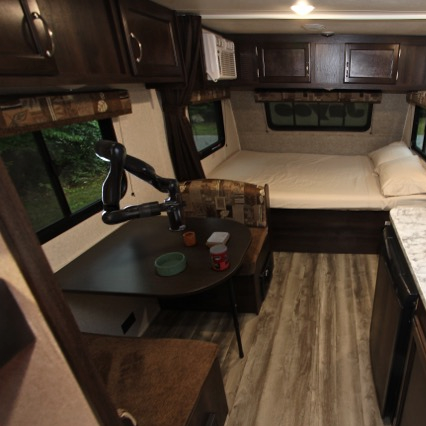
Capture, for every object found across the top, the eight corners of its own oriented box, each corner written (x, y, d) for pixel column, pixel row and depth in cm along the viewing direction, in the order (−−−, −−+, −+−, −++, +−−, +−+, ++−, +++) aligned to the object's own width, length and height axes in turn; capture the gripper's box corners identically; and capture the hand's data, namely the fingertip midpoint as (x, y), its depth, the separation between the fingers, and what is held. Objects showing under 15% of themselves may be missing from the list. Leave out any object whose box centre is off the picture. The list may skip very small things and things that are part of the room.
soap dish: (223, 250, 164) (222, 242, 161) (206, 249, 164) (204, 241, 162) (230, 239, 175) (229, 231, 173) (214, 238, 175) (213, 231, 173)
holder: (184, 242, 170) (182, 233, 167) (195, 240, 173) (193, 230, 170) (186, 247, 165) (184, 237, 163) (197, 244, 168) (195, 235, 165)
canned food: (210, 266, 150) (207, 248, 145) (224, 260, 155) (221, 242, 150) (217, 273, 145) (214, 254, 140) (231, 266, 150) (229, 248, 145)
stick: (181, 223, 161) (175, 193, 153) (185, 223, 162) (179, 192, 154) (182, 225, 159) (175, 194, 151) (186, 224, 160) (180, 194, 152)
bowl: (156, 264, 150) (153, 256, 148) (184, 257, 156) (182, 249, 154) (157, 279, 140) (155, 270, 138) (188, 270, 146) (186, 262, 144)
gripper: (148, 207, 142) (186, 201, 150) (147, 198, 152) (183, 192, 160) (151, 221, 145) (189, 214, 153) (150, 211, 156) (185, 205, 164)
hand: (185, 203), depth 157 cm, fingers closed on stick, 2 cm apart
